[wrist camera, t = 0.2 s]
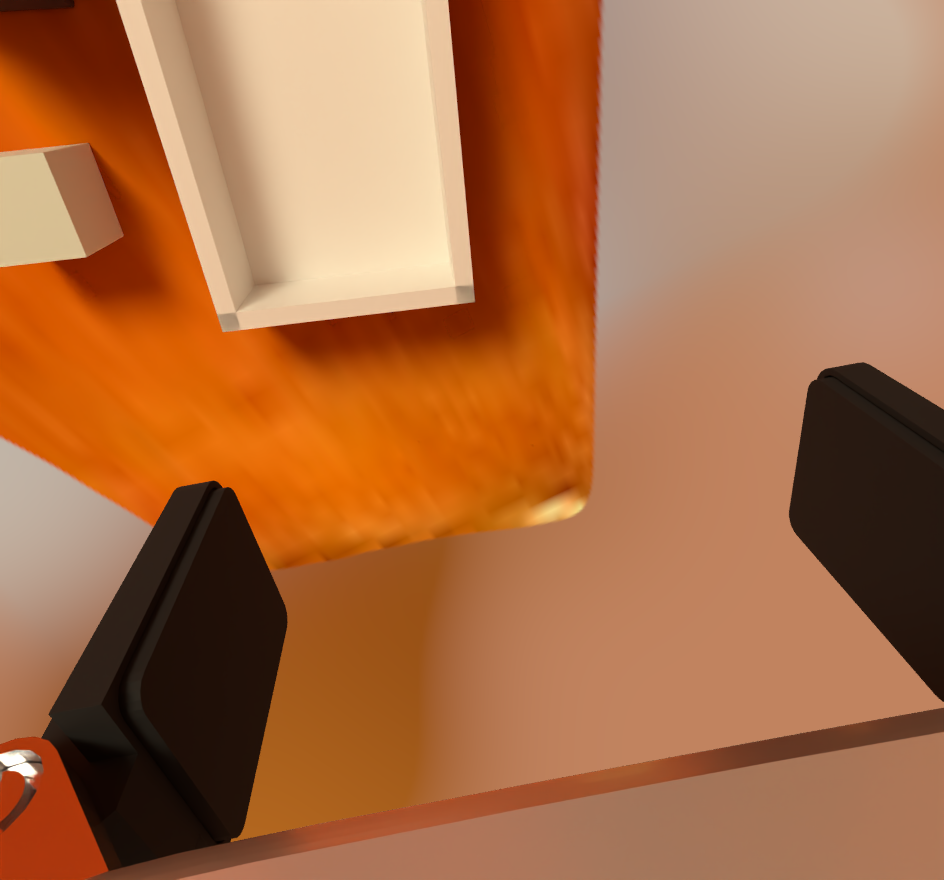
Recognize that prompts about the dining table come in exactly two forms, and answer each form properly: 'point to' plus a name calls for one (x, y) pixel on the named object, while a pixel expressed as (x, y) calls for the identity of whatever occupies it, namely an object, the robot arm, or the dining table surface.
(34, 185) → the beige cube
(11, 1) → the phone stand
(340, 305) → the tote
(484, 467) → the dining table surface
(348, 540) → the dining table surface
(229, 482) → the dining table surface
